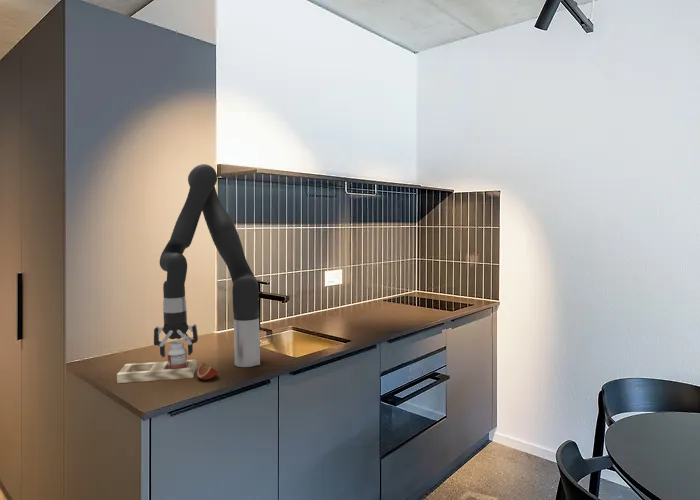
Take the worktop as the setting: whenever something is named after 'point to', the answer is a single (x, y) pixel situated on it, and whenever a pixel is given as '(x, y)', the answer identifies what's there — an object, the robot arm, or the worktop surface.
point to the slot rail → (154, 372)
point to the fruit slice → (206, 371)
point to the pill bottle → (177, 355)
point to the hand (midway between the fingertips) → (176, 355)
